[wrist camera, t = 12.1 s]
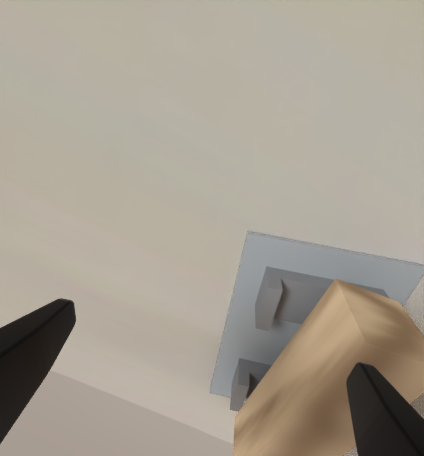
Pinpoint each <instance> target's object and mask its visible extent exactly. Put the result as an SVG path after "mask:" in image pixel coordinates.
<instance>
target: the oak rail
mask: <svg viewBox="0 0 424 456" xmlns="http://www.w3.org/2000/svg"><path fill="white" fill-rule="evenodd" d="M358 362H363V363H367V364H371V365H373V366H374V367H375V368H376V369H377V370H378V371H379V372H380V373H381V374H382V375H383V376H384V377H385V378H386V379H387V380H388V381H389V383H390V384H391V385H392V386H393V387H394V388H395V389H396V390H397V391H398V392H399V393H400V394H401V395H402V396H403V397H404V399H405V400H406V401H407V402H408V403H409V404H410V403H412V402H413V401H414V400H416V399H417V398H418V397H419V396H421V395H422V394H423V393H424V336H423V334H422V333H421V332H420V330H419V329H418V328H417V326H416V325H415V324H414V322H413V321H412V319H411V318H410V317H409V315H408V314H407V313H406V311H405V310H404V308H403V307H402V306H401V304H400V303H399V302H398V301H395V300H393V299H390V298H387V297H385V296H382V295H379V294H376V293H374V292H371V291H368V290H366V289H363V288H360V287H357V286H355V285H352V284H349V283H347V282H344V281H341V280H339V279H336V278H335V280H334V281H333V283H332V284H331V285H330V287H329V288H328V289H327V291H326V292H325V294H324V295H323V296H322V298H321V299H320V300H319V302H318V303H317V305H316V306H315V307H314V309H313V310H312V311H311V313H310V314H309V316H308V317H307V318H306V320H305V321H304V322H303V324H302V325H301V326H300V328H299V329H298V331H297V332H296V333H295V335H294V336H293V337H292V339H291V340H290V342H289V343H288V344H287V346H286V347H285V348H284V350H283V351H282V353H281V354H280V355H279V357H278V358H277V359H276V361H275V362H274V363H273V365H272V366H271V368H270V369H269V370H268V372H267V373H266V374H265V376H264V377H263V379H262V380H261V381H260V383H259V384H258V385H257V387H256V388H255V390H254V391H253V392H252V394H251V395H250V396H249V398H248V399H247V401H246V402H245V403H244V405H243V406H242V407H241V409H240V410H239V411H238V413H237V414H236V416H235V428H234V448H233V449H234V450H233V456H343V455H345V454H346V453H347V452H349V451H350V450H351V449H352V448H354V447H355V446H356V443H355V437H354V432H353V425H352V419H351V413H350V406H349V400H348V394H347V387H346V381H347V377H348V376H349V374H350V372H351V371H352V369H353V368H354V366H355V364H356V363H358Z"/></svg>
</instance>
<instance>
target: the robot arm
mask: <svg viewBox="0 0 424 456" xmlns="http://www.w3.org/2000/svg"><path fill="white" fill-rule="evenodd" d="M75 322H76V315H75V308H74V303H73V301H71V300H67V299H62V298H61V299H57V300H55V301H53V302H51V303H49V304H47V305H45V306H43V307H41V308H39V309H37V310H35V311H33V312H31V313H29V314H27V315H25V316H23V317H21V318H19V319H17V320H15V321H13V322H11V323H9V324H7V325H5V326H3V327H1V328H0V444H1V442H2V441H3V439H4V438H5V436H6V435H7V433H8V432H9V430H10V429H11V427H12V426H13V424H14V423H15V421H16V420H17V419H18V417H19V416H20V414H21V413H22V411H23V410H24V408H25V407H26V405H27V404H28V402H29V401H30V399H31V398H32V396H33V395H34V393H35V392H36V390H37V389H38V388H39V386H40V385H41V383H42V382H43V380H44V379H45V377H46V376H47V374H48V372H49V371H50V369H51V367H52V366H53V364H54V362H55V360H56V358H57V356H58V355H59V353H60V351H61V349H62V347H63V345H64V344H65V342H66V340H67V338H68V336H69V335H70V333H71V331H72V329H73V327H74V325H75ZM346 387H347V394H348V400H349V406H350V413H351V419H352V425H353V432H354V437H355V443H356V447H357V452H358V456H424V419H423V418H422V417H421V416H420V415H419V414H418V412H417V411H416V410H415V409H414V408H413V407H412V406H411V405H410V404H409V403H408V402H407V401H406V400H405V399H404V397H403V396H402V395H401V394H400V393H399V392H398V391H397V390H396V389H395V388H394V387H393V386H392V385H391V384H390V383H389V381H388V380H387V379H386V378H385V377H384V376H383V375H382V374H381V373H380V372H379V371H378V370H377V369H376V368H375V367H374V366H373V365H371V364H367V363H363V362H358V363H356V364H355V366H354V368H353V369H352V371H351V372H350V374H349V376H348V377H347V381H346Z"/></svg>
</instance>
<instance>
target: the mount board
mask: <svg viewBox="0 0 424 456" xmlns="http://www.w3.org/2000/svg"><path fill="white" fill-rule="evenodd" d="M423 274H424V265H422V264H417V263H411V262H406V261H401V260H396V259H390V258H385V257H380V256H375V255H370V254H364V253H359V252H354V251H349V250H343V249H338V248H333V247H328V246H323V245H317V244H312V243H307V242H302V241H296V240H291V239H286V238H281V237H276V236H270V235H265V234H260V233H255V232H249V231H248V232H247V236H246V240H245V244H244V249H243V253H242V257H241V261H240V266H239V270H238V274H237V278H236V282H235V287H234V291H233V295H232V299H231V303H230V308H229V312H228V316H227V320H226V325H225V329H224V333H223V337H222V341H221V346H220V350H219V354H218V358H217V362H216V367H215V371H214V375H213V379H212V384H211V388H210V393H211V394H216V395H220V396H224V397H229V398H231V403H230V410H234V411H239V410H240V409H241V407H242V406H243V403H244V401H247V399H248V398H249V396H250V395H251V394H252V392H253V391H254V390H255V388H256V387H257V385H258V384H259V383H260V381H261V380H262V379H263V377H264V376H265V374H266V373H267V372H268V370H269V369H270V368H271V366H272V365H273V363H274V362H275V361H276V359H277V358H278V357H279V355H280V354H281V353H282V351H283V350H284V348H285V347H286V346H287V344H288V343H289V342H290V340H291V339H292V337H293V336H294V335H295V333H296V332H297V331H298V329H299V328H300V326H301V325H302V324H303V322H304V321H305V320H306V318H307V317H308V316H309V314H310V313H311V311H312V310H313V309H314V307H315V306H316V305H317V303H318V302H319V300H320V299H321V298H322V296H323V295H324V294H325V292H326V291H327V289H328V288H329V287H330V285H331V284H332V283H333V281H334V280H335V278H336V279H339V280H341V281H344V282H347V283H349V284H352V285H355V286H357V287H360V288H363V289H366V290H368V291H371V292H374V293H376V294H379V295H382V296H385V297H387V298H390V299H393V300H395V301H398V302H399V303H400V304H401V306H402V307H403V305H404V304H405V302H406V301H407V299H408V297H409V296H410V294H411V293H412V291H413V290H414V288H415V287H416V285H417V284H418V282H419V280H420V279H421V277H422V276H423Z"/></svg>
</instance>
